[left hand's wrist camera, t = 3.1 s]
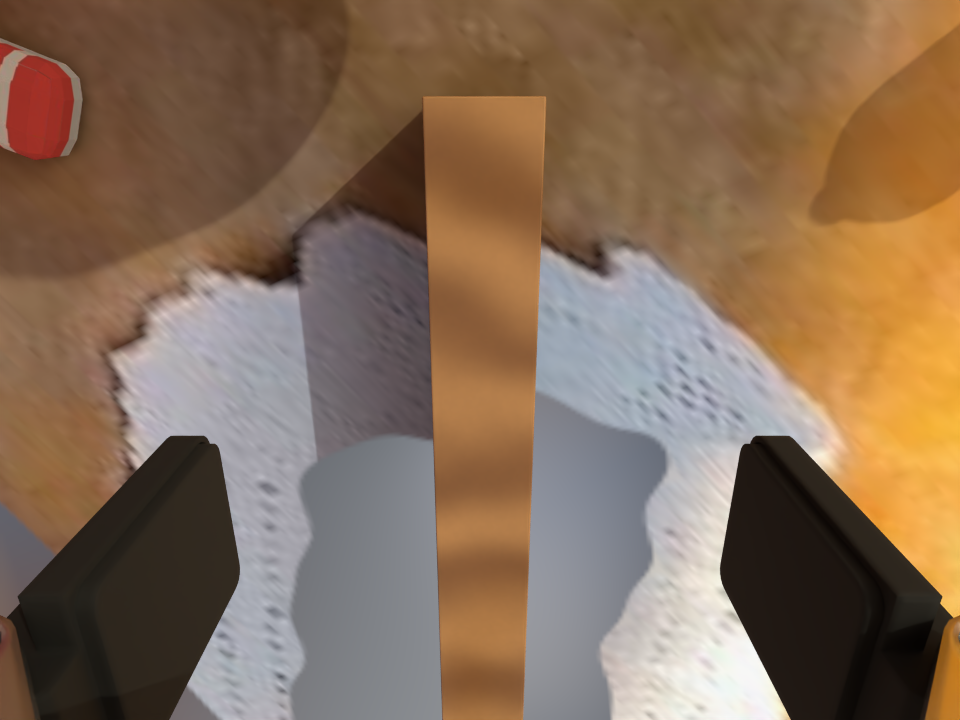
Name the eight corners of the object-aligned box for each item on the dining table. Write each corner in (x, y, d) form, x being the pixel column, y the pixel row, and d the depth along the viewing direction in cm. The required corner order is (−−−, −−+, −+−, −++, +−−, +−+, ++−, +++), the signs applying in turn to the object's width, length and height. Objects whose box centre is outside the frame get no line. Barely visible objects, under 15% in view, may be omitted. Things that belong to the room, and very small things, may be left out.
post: (435, 96, 32) (421, 96, 25) (531, 96, 32) (546, 96, 25) (454, 863, 56) (450, 976, 49) (509, 863, 56) (513, 976, 49)
